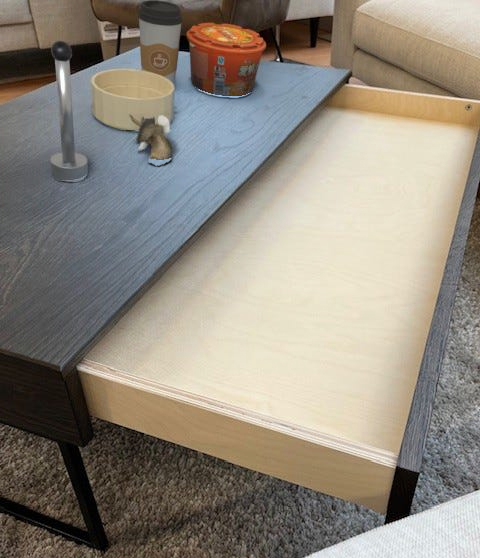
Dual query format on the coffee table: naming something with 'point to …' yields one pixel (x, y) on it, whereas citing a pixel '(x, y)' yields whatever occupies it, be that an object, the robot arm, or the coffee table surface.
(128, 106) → the bowl
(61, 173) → the ball-top lever stand
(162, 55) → the coffee cup
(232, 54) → the food container
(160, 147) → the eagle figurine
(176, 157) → the coffee table surface
